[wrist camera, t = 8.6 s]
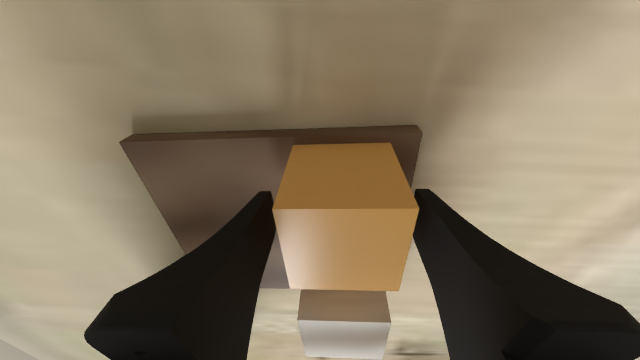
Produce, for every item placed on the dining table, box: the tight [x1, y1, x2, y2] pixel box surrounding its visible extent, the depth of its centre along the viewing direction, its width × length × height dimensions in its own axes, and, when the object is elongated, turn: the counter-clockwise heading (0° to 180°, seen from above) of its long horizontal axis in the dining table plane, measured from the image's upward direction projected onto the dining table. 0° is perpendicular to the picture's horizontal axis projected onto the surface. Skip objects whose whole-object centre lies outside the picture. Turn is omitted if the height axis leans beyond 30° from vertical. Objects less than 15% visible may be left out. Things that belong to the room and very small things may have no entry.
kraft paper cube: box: [272, 143, 419, 291], centre depth 12 cm, size 5×5×5 cm
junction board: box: [119, 125, 422, 359], centre depth 15 cm, size 14×16×6 cm
